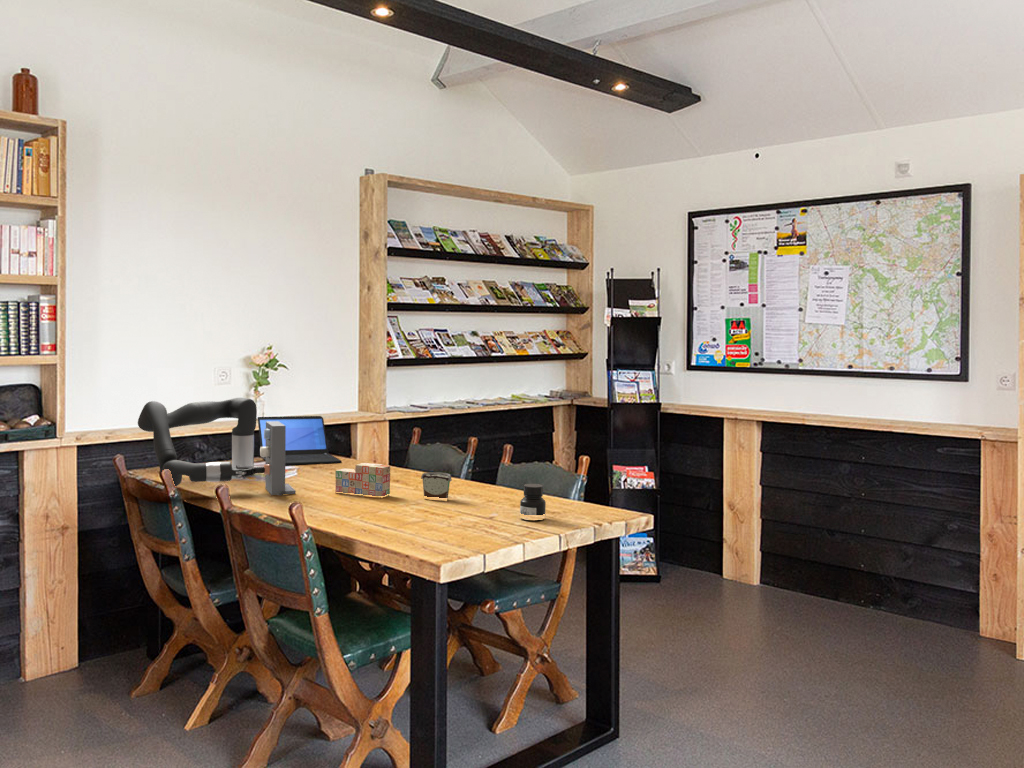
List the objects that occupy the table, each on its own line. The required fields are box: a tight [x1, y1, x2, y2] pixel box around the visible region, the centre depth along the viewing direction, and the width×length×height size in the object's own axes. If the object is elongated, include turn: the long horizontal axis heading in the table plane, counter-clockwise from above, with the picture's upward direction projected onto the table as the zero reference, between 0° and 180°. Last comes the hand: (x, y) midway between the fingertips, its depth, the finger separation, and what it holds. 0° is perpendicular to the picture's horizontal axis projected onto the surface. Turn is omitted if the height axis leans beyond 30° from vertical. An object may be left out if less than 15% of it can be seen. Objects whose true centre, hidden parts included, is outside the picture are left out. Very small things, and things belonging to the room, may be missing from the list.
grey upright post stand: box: [264, 421, 297, 496], centre depth 349 cm, size 16×9×27 cm, turn 24°
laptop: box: [257, 415, 342, 466], centre depth 431 cm, size 33×38×19 cm
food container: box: [420, 471, 453, 499], centre depth 342 cm, size 12×6×10 cm, turn 71°
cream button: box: [259, 446, 270, 458], centre depth 347 cm, size 4×4×4 cm
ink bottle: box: [519, 483, 547, 515], centre depth 311 cm, size 10×9×12 cm
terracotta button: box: [263, 463, 270, 475], centre depth 348 cm, size 4×4×4 cm
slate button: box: [264, 429, 270, 439], centre depth 347 cm, size 4×4×4 cm
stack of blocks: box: [335, 462, 391, 496], centre depth 347 cm, size 21×6×12 cm, turn 68°
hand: (264, 469), depth 347 cm, fingers closed
